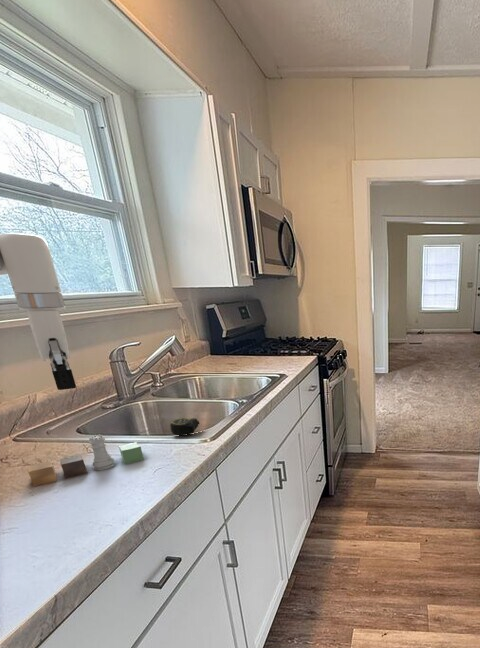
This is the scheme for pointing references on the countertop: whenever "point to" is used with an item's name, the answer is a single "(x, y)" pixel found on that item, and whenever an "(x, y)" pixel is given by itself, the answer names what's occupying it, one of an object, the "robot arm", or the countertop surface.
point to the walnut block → (73, 466)
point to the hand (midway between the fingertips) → (65, 384)
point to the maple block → (42, 473)
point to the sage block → (131, 452)
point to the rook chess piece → (100, 453)
